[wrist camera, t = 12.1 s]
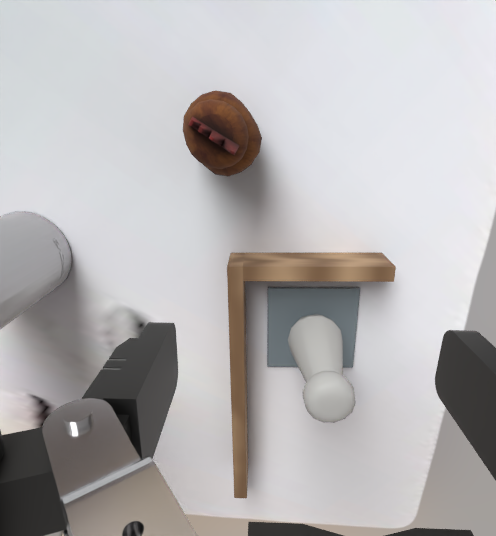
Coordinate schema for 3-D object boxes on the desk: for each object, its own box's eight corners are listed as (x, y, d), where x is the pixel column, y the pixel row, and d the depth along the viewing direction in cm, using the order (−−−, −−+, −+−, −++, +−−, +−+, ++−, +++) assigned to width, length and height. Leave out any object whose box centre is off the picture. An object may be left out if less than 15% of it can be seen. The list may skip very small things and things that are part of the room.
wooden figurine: (272, 145, 37) (278, 152, 23) (225, 181, 38) (204, 208, 24) (229, 83, 36) (208, 51, 21) (182, 123, 37) (132, 117, 23)
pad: (267, 365, 45) (267, 366, 45) (267, 287, 42) (268, 288, 42) (352, 365, 45) (352, 367, 45) (359, 287, 42) (360, 288, 41)
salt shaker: (310, 296, 42) (329, 364, 30) (348, 326, 43) (383, 402, 31) (276, 333, 44) (281, 411, 31) (314, 360, 45) (333, 446, 32)
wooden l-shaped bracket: (236, 467, 51) (234, 497, 47) (230, 252, 41) (227, 266, 37) (357, 470, 50) (366, 501, 46) (381, 252, 40) (395, 266, 36)
